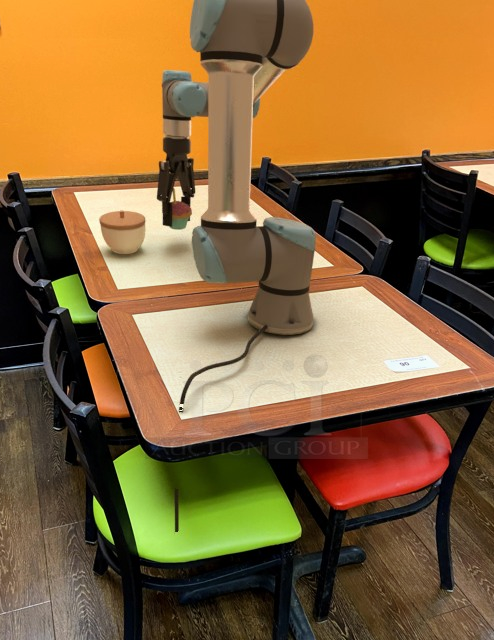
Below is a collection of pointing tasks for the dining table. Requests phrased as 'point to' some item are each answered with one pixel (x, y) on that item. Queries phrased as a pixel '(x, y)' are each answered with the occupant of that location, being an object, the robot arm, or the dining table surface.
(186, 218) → the cupcake
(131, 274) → the dining table surface
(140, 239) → the lidded bowl
